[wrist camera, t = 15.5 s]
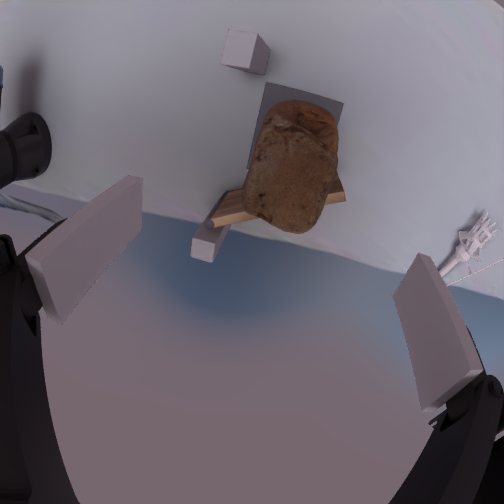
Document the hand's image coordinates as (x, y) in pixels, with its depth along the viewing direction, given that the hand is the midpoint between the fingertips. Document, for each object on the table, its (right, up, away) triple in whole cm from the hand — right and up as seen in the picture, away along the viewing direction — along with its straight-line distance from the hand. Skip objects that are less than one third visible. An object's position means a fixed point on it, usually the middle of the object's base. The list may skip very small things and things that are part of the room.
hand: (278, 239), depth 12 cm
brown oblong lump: (+5, +16, +25) cm, 30 cm away
